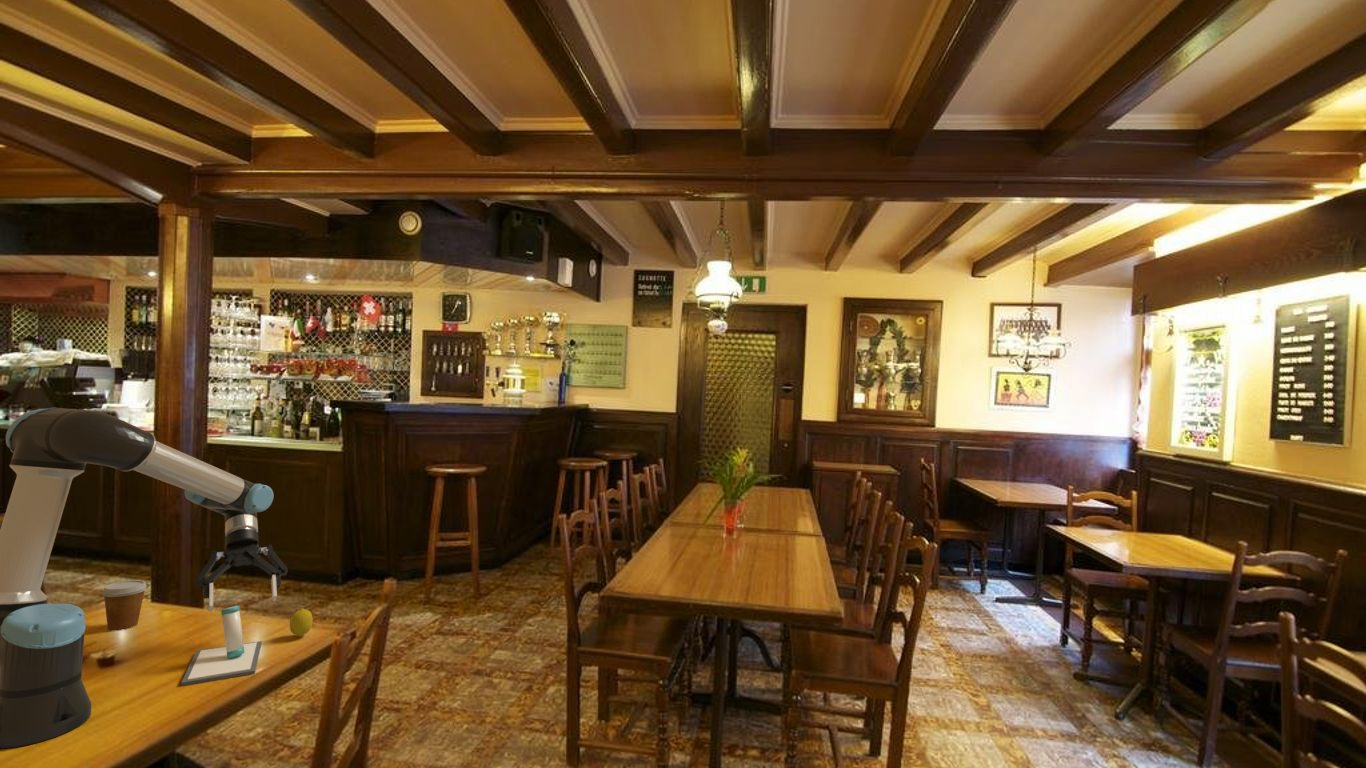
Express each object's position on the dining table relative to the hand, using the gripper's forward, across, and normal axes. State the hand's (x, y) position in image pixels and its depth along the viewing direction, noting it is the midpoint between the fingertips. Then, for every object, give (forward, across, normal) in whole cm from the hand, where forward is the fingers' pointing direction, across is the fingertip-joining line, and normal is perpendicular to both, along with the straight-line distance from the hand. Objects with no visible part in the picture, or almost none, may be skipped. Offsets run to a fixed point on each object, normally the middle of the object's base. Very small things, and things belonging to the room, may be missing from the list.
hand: (243, 603), depth 159 cm
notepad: (+12, +4, -6) cm, 14 cm away
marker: (+11, +1, -5) cm, 12 cm away
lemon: (+7, -14, -12) cm, 20 cm away
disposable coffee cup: (-19, +25, -38) cm, 49 cm away
